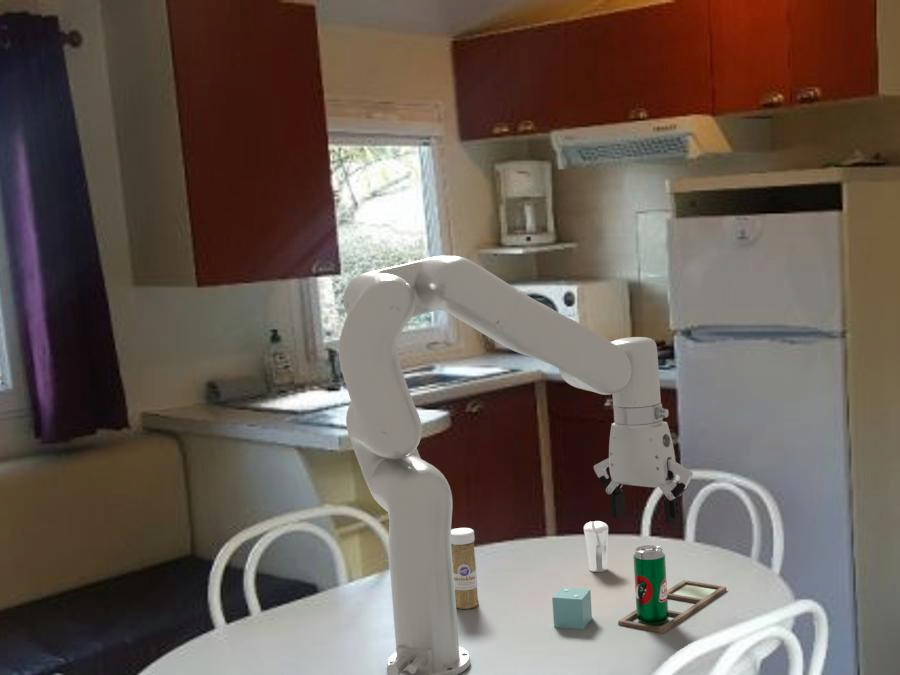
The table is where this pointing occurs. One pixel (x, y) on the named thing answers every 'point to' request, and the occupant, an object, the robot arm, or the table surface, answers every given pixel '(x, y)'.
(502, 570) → the table surface
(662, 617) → the soda can
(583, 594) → the die
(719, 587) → the wooden frame
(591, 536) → the milkshake
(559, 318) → the robot arm
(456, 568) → the sprinkles bottle
